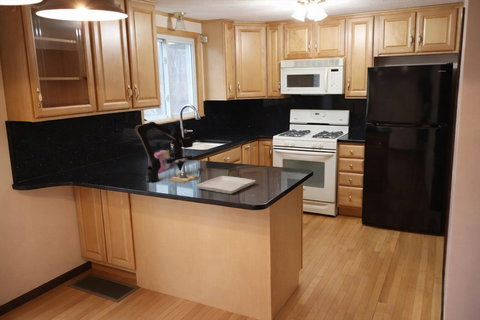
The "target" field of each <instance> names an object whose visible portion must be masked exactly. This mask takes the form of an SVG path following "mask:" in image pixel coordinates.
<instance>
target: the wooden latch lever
mask: <svg viewBox="0 0 480 320" xmlns="http://www.w3.org/2000/svg"><path fill="white" fill-rule="evenodd" d="M176 173H177V174H178V176H179V178H187V175H188V173H187V171H186V172H185V171H182V170H181V171H180V170H179V169H176Z"/></svg>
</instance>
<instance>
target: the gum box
mask: <svg viewBox="0 0 480 320" xmlns="http://www.w3.org/2000/svg"><path fill="white" fill-rule="evenodd" d="M153 153H154V156H155V157H156V158H159V161H160V163H161V164H160V165H161V167H160V169H159V171H158V174H160V173H161V172H163V171H165V170H167V169H169V168H170V167H171V163H170V164H167V163H165V159H166V158H171V157H170V156H169V153H170V149H167V150H164V149H159V150H157V151H155V152H153ZM147 159H148V160H147V161H148V162H149V158H148V157H147Z"/></svg>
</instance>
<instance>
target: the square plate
mask: <svg viewBox="0 0 480 320" xmlns="http://www.w3.org/2000/svg"><path fill="white" fill-rule="evenodd" d="M254 183H256V180H255V179H251V178H243V177H239V176H238V177H236V176H227V175H220V176H216V177H214V178H210V179H207V180H205V181H203V182H201V183H198V184H196V185H195V186H196V187H197V188H199V189H201V190H205V191H209V192H217V193H222V194H229V195H231V194H234V193H237V192H238V191H240V190H243V189H246V188H248V187H249V186H252V185H254Z"/></svg>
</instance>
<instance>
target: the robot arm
mask: <svg viewBox="0 0 480 320" xmlns="http://www.w3.org/2000/svg"><path fill="white" fill-rule="evenodd" d="M152 129H154V130H157V131H159V132H160V133H161V132H162V133H163V134H166V135H167V136H169V137H170V138H171V141H170V142H169V143H170V144H171V145H172V146H173V150H172V152H171V151H169V156H170V158H166V159H165V163H167V164H170V165H171V164H175V165H176V167H177V170H180V171H182V168H183V166H184V163H186V161H185V160H188V161H193V160H194V156H193V155H192V154H185V155H183V153H184V150H183V149H188V148H192V147H193V145H194V143H193V140H192V137H191V136H190V137H186V138H185V137H184V136H183V135H182V132H180V131H179V130H178V131H177V130H173V129H170V128H167V127H165V126H163V125H161V124H158V123H156V122H155V121H148V122H147V123H144V124H137V125H136V126H135V127H134V131H135V133H136V135H137V137H138V138H139V139H140V141H141V143H142V145H143V148H144V150H145V153H146V155H147V159H148V158H149V161H148V167H146V171H147V179H148V180H147V181H146V183H150V184H151V183H153V184H154V183H157V182H160V181H161V179H159V173H158V171H159V169H160V167H161V165H160V164H161V163H160V161H159V158H156V157H155V156H154V152H153V151H154V150H153V148H152V146H151V143H150V141H149V138H148V133H147V132H148V131H151V130H152ZM173 139H174V140H173Z"/></svg>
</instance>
